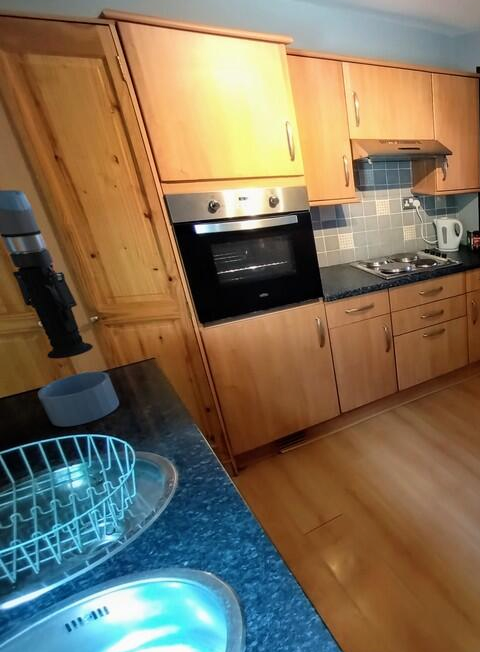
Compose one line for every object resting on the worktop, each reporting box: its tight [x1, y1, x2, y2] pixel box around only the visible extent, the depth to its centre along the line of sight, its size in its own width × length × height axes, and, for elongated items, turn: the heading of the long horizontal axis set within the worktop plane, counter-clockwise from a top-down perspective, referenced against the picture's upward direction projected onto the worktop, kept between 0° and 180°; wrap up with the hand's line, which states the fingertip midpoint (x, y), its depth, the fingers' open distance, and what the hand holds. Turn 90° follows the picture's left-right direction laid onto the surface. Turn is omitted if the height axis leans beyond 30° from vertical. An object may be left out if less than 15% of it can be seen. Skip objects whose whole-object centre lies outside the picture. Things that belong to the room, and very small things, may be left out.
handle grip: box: [17, 263, 94, 360], centre depth 128 cm, size 10×26×10 cm
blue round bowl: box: [37, 371, 120, 427], centre depth 126 cm, size 15×15×9 cm
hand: (61, 329), depth 130 cm, fingers closed on handle grip, 7 cm apart
